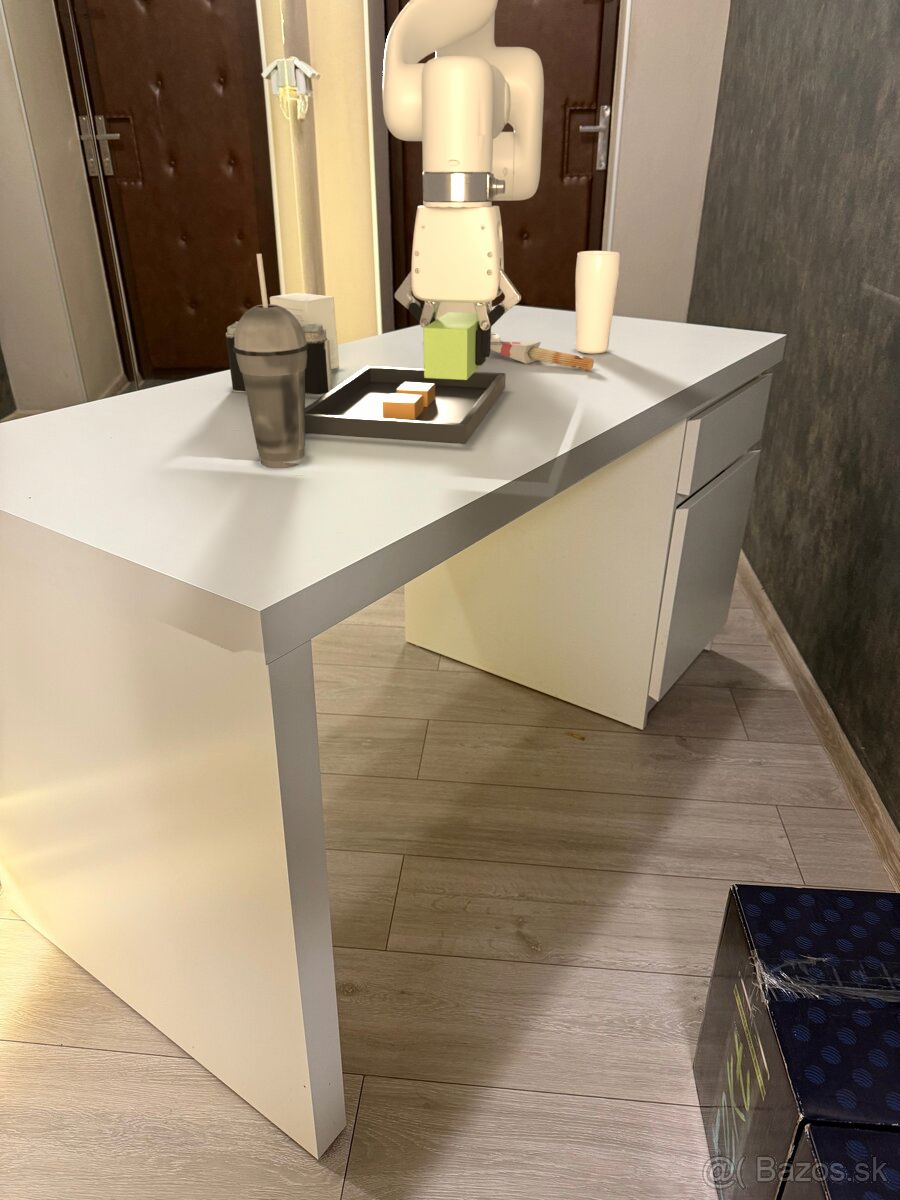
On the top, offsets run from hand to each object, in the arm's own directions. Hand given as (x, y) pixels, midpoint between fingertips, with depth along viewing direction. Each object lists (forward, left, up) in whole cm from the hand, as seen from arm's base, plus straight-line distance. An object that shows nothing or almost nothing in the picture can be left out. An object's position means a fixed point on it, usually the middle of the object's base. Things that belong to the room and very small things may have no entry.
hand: (457, 360), depth 98 cm
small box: (-20, -27, -7) cm, 35 cm away
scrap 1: (+3, -6, -6) cm, 9 cm away
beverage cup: (+21, -14, -7) cm, 26 cm away
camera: (-5, -26, -7) cm, 27 cm away
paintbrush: (-33, +5, -7) cm, 34 cm away
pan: (0, -6, -7) cm, 9 cm away
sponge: (0, 0, -1) cm, 1 cm away
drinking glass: (-43, +13, -7) cm, 46 cm away
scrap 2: (-3, -6, -6) cm, 9 cm away
